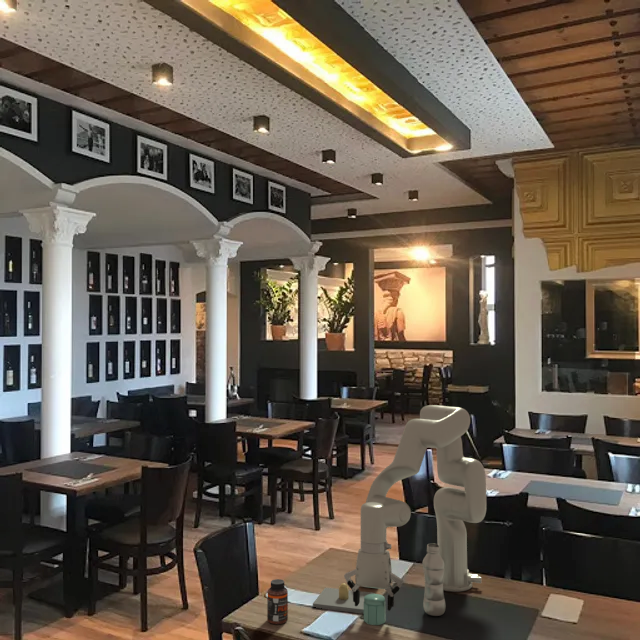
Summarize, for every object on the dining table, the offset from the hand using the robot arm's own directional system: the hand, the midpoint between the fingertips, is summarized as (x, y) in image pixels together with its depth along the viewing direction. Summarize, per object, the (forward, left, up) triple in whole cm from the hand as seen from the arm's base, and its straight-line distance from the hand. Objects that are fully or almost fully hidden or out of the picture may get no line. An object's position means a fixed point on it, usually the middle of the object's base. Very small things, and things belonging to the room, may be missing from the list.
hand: (373, 606), depth 184 cm
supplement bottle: (+27, +8, -4) cm, 28 cm away
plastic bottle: (-16, -9, -4) cm, 19 cm away
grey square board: (+12, -10, -4) cm, 16 cm away
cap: (0, 0, -4) cm, 4 cm away
